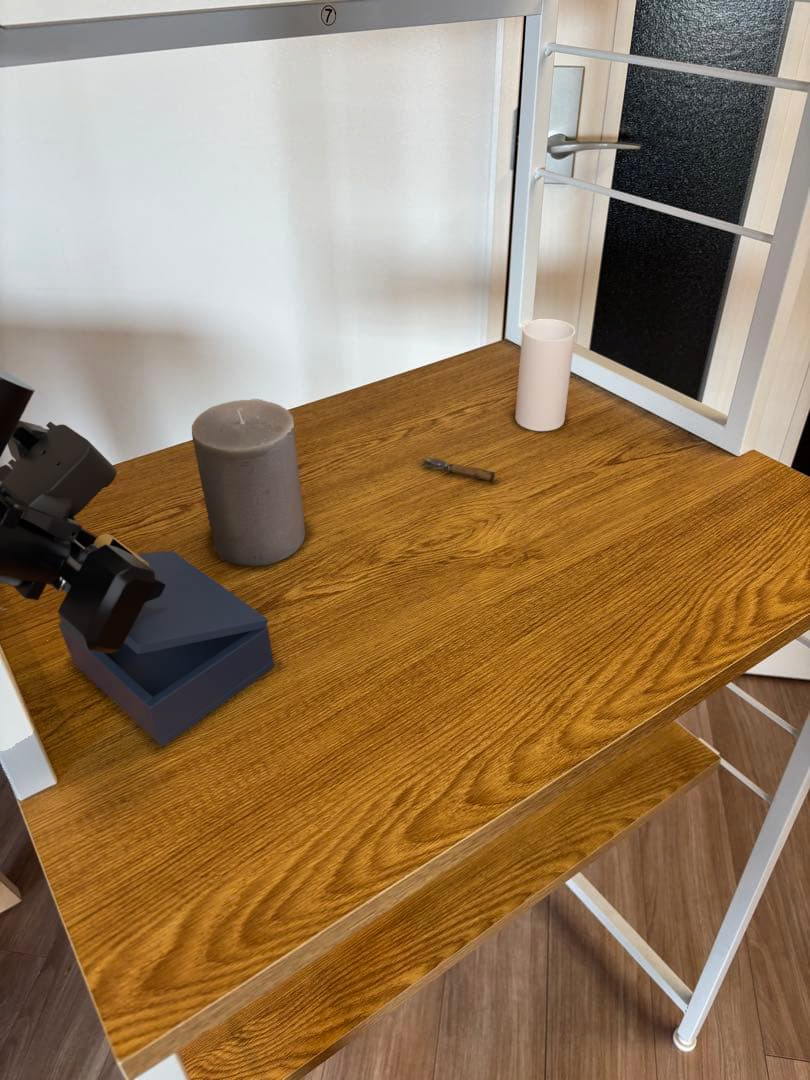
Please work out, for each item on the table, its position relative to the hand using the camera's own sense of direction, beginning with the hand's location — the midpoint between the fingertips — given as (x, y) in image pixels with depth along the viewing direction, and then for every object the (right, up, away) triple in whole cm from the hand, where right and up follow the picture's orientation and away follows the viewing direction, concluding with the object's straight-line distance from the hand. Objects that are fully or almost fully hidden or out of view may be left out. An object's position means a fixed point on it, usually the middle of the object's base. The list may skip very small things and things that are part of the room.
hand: (143, 575), depth 66 cm
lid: (0, -2, +2) cm, 3 cm away
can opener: (+27, +10, +30) cm, 42 cm away
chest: (0, -8, +7) cm, 11 cm away
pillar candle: (+6, +3, +21) cm, 22 cm away
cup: (+38, +18, +39) cm, 57 cm away
